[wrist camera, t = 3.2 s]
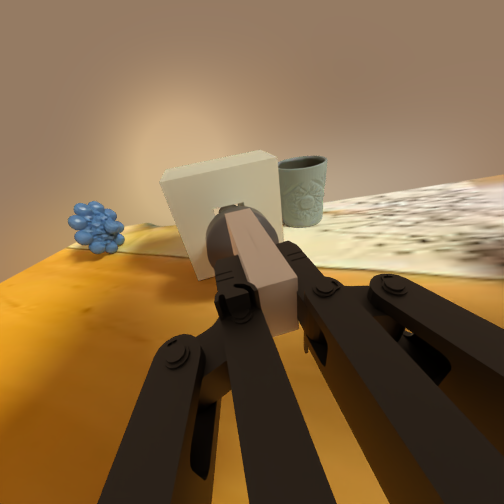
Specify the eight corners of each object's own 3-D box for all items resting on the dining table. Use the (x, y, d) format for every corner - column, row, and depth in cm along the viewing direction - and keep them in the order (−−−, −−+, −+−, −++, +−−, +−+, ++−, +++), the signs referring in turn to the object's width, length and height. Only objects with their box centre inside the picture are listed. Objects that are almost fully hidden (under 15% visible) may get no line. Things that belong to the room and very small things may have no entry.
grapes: (117, 266, 41) (80, 210, 35) (87, 269, 42) (45, 215, 36) (145, 236, 51) (120, 188, 44) (120, 239, 52) (92, 192, 45)
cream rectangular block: (270, 235, 42) (260, 149, 33) (285, 256, 36) (277, 156, 27) (197, 254, 41) (165, 169, 32) (198, 280, 34) (159, 182, 25)
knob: (257, 230, 35) (250, 181, 30) (281, 268, 26) (275, 207, 21) (210, 242, 34) (195, 194, 29) (217, 286, 25) (197, 227, 20)
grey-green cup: (311, 233, 41) (312, 169, 34) (269, 224, 47) (262, 168, 40) (332, 212, 47) (336, 154, 40) (292, 206, 53) (290, 155, 46)
